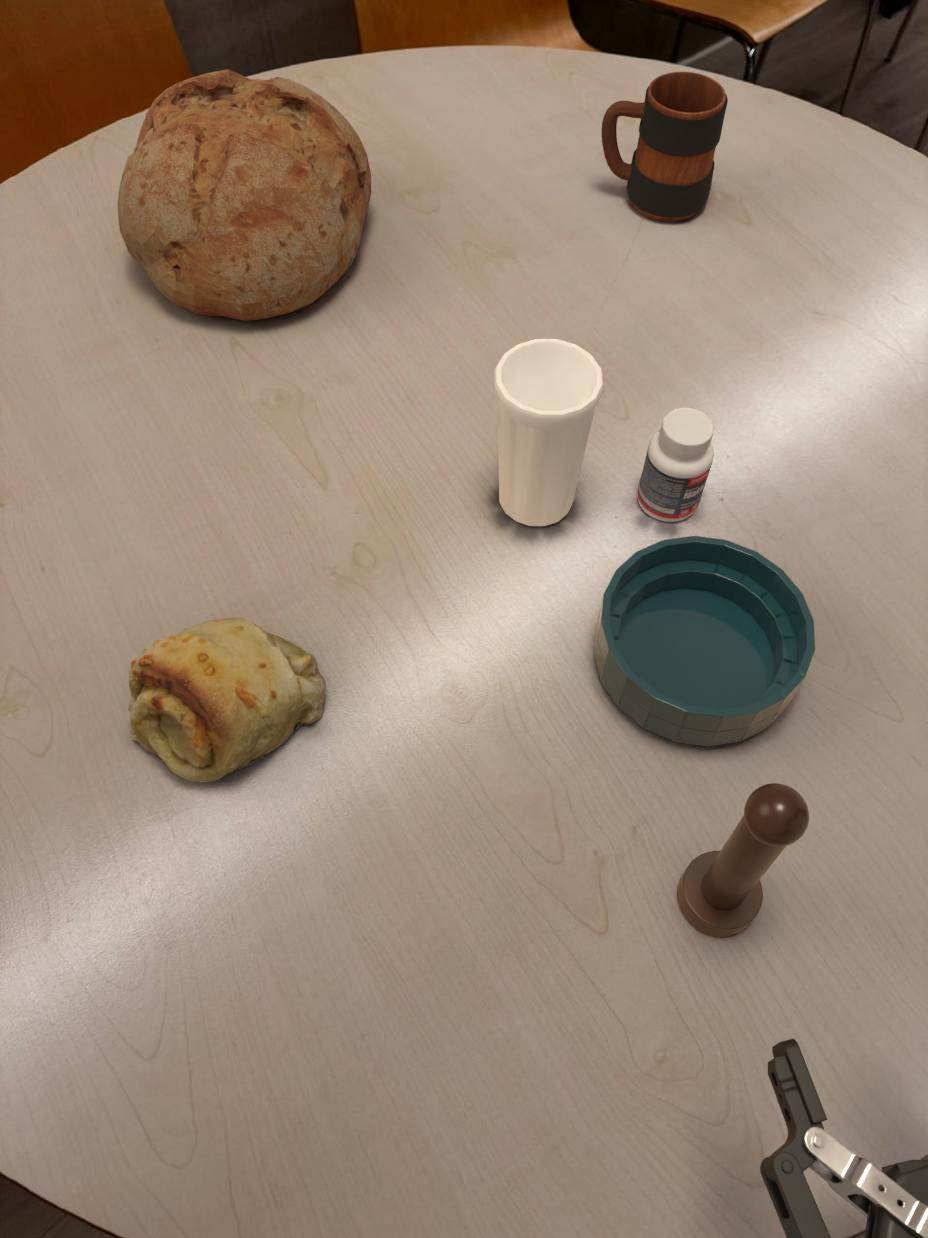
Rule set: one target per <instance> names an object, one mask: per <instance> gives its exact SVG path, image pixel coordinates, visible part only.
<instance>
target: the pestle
mask: <svg viewBox="0 0 928 1238" xmlns="http://www.w3.org/2000/svg"><path fill="white" fill-rule="evenodd" d="M809 822H810V810H809V806H808V804H807V802H806V800H805V799H804V797H803V796H802V795H801V794H800V793H799V791H798V790H796V789H794V788H793V787H792V786H789V785H787V784H783V783H777V782H774V783H767V784H763V785H761V786H759V787H757V788H756V789H754V790H753V791H752V793H750V795H749V796H748V797H747V799H746V802H745V804H744V808H743V816H742V817H741V819H740V820H739V822H738V823H737V824H736V827H735V828H734V830H733V831H732V832H731V834H730V836H729V837H728V839H727V841H726V842H725V844H724V845H723V847H722V848H721V850H712V851H707V852H704V853H702V854H701V853H700V855H698V856H696V857H695V858H694V859H692V860H691V862H690V863H689V864H688V866H687V867H686V868H685V870H684V872H683V874H682V875H681V877H680V879H679V882H678V885H677V902H678V906H679V908H680V911H681V913H682V914H683V916H684V917H685V919H686V920H687V922H688V924H690V925H691V926H692V927H694V928H695V929H696V930H698V931H699V932H700V933H703V934H705V935H708V936H711V937H714V938H715V937H716V938H729V937H733V936H735V935H738V934H740V933H741V932H743V931H744V930H745V929H746V928H747V927H748V926H749V925H750V924H751V923H752V922H753V920H754V919H755V918H756V917H757V916H758V914H759V912H760V911H761V908H762V904H763V901H764V899H763V898H764V893H763V886H762V882H761V879H762V877H764V876H765V874H766V872H767V871H768V870H769V869H770V867H771V866H772V865H774V862H775V861H776V860H777V859H778V858H779V856H780V855H781V854H782V853H783V852H784V850H785V849H786V848H787V846H790V845H792V844H794V843H796V842H797V841H799V840H800V839H801V838H802V837H803V836H804V834H805V833H806V831H807V829H808V826H809Z"/></svg>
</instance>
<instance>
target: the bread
mask: <svg viewBox="0 0 928 1238" xmlns="http://www.w3.org/2000/svg"><path fill="white" fill-rule="evenodd" d="M122 171H123V172H122V174H121V178H120V184H119V188H118V190H119V191H118V195H117V220H118V227H119V232H120V236H121V237H122V239H123V240H122V241H123V242H124V245H125V247H126V249H127V252H128V253H129V254H130V256H131V258H133V260H134V261H135V262H136V263H137V264H138V265H139V266H140V267H141V268H142V270H143V271H144V272H145V273H146V275H147V276H148V278H149V279H150V281H151V282H152V283H153V285H154V287H155V288H156V289H157V291H158V292H159V293H161V294H162V295H163V296H164V297H166V298H167V299H168V300H169V301H171V302H172V303H173V304H175V305H176V306H179V307H181V308H183V309H185V310H188V311H190V312H192V313H194V314H196V315H199V316H210V317H225V318H230V319H234V320H238V321H243V322H249V321H258V320H265V319H270V318H275V317H278V316H282V315H287V314H290V313H292V312H295V311H298V310H300V309H303V308H305V307H307V306H310V305H311V304H312V303H314V302H315V301H316V300H317V299H319V298H320V297H322V295H324V294H326V292H327V291H328V290H330V288H332V287H333V286H334V285H335V284H336V283H337V282H338V281H339V280H340V278H341V277H342V276H343V275H344V274H345V273H346V271H347V270H348V269H349V268H350V267H351V266H352V265H353V262H354V260H355V258H356V256H357V254H358V251H359V249H360V247H361V246H360V245H361V241H362V240H361V239H362V234H363V228H364V224H365V223H364V222H365V218H366V215H367V212H368V209H369V205H370V202H371V201H370V200H371V197H372V172H371V167H370V161H369V157H368V154H367V151H366V149H365V147H364V144H363V142H362V139H361V138H360V135H359V134H358V132H357V131H356V129H355V128H354V127H353V126H352V124H351V123H350V122H349V121H348V119H347V118H346V117H345V116H344V115H343V114H342V113H341V112H340V111H339V110H338V109H337V108H336V107H335V106H334V105H333V104H331V103H330V102H329V101H328V100H326V99H325V98H324V97H323V96H322V95H321V94H319V93H317V92H315V91H313V89H310V88H309V87H307V86H306V85H303V84H301V83H299V82H296V81H295V80H292V79H290V78H286V77H280V76H275V77H270V78H269V79H259V78H248V77H247V76H244V75H242V74H240V73H238V72H236V71H234V70H231V69H227V68H226V69H221V70H216V71H210V72H206V73H203V74H199V75H197V76H193V77H190V78H186V79H185V80H182V81H179V82H176V83H175V84H173V85H171V86H170V87H167V88H166V89H165V90H164V91H162V92H161V93H160V94H159V95H158V96H157V97H156V98H155V99H154V100H153V102H152V103H151V105H150V106H149V108H148V110H147V112H146V114H145V117H144V119H143V121H142V124H141V127H140V130H139V134H138V137H137V141H136V146H135V147H134V148H133V152H132V153H131V154H130V155H129V156H127V159H126V161H125V165H124V168H123V170H122Z"/></svg>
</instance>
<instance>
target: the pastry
mask: <svg viewBox="0 0 928 1238" xmlns="http://www.w3.org/2000/svg"><path fill="white" fill-rule="evenodd" d="M128 688H129V691H130V701H129V704H128V712H129V721H130V724H129V725H130V726H129V728H130V731H131V739H132V740H134V742H138V743H139V744H140V745H141V746H142V747H143V748H144V750H146V751H148V752H149V753H151V754H152V755H153V756H157V757H158V758H159V759H161V760H162V763H163V764H164V765H165V766H166V767H167V768H168V769H169V770H170V771H171V772H172V773H174V774H175V775H177V776H179V777H180V778H183V779H185V780H187V781H191V782H200V783H207V782H213V781H217V780H220V779H222V778H224V777H225V776H226V775H227V774H230V773H232V772H234V771H239V770H241V769H243V768H245V767H249V766H251V765H252V764H253V763H256V762H257V761H260V760H261V759H263V758H264V757H266V756H267V754H268V753H270V752H272V751H275V750H276V749H277V748H279V747H280V746H281V745H282V744H283V743H285V742H286V741H287V740H288V739H289V737H290V736H291V735H292V733H293V732H295V733H297V729H298V728H299V726H300V725H303V726H307V727H308V726H312V724H313V723H316V722H317V721H319V720H320V719H321V717H322V715H323V711H324V710H323V707H324V705H325V697H326V691H327V682H326V679H325V677H324V676H323V675H322V674H321V672H320V669H319V667H318V661H317V658H316V657H315V656H314V655H313V654H311V653H309V652H307V651H306V650H305V649H303V648H302V647H300V646H298V645H296V644H295V643H293V642H291V641H288V640H286V639H284V638H282V637H280V636H278V635H275V634H273V633H269V632H266V630H264V629H263V628H262V627H261V626H259V625H257V624H256V623H254V622H253V621H250V620H247V619H244V618H243V617H234V618H233V617H231V618H230V617H229V618H219V619H212V620H207V621H204V622H201V623H197V624H195V625H192V626H190V627H186V628H184V629H182V630H181V631H179V632H178V633H175V634H171V635H168V636H164V637H162V638H160V639H157V640H155V641H154V642H153V643H152V644H151V645H149V646H148V647H146V648H144V649H143V651H142V652H140V654H139V655H138V656H136V657H135V658H133V659H132V660H131V662H130V668H129V673H128Z"/></svg>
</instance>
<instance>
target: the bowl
mask: <svg viewBox="0 0 928 1238" xmlns="http://www.w3.org/2000/svg"><path fill="white" fill-rule="evenodd" d="M814 621H815V620H814V617H813V615H812V613H811V610H810V608H809V606H808V603H807V600H806V598H805V596H804V594H803V593H802V591H801V590H800V588H799V587H798V586H797V585H796V584H795V582H793V581H792V579H791V578H790V577H789V576H788V574H787V573H786V572H785V570H784V569H782V568H781V567H780V566H778V565H777V564H775V563H774V562H772V561H771V560H770V559H768V558H767V557H765V556H764V555H763V554H761V553H760V552H758V551H756V550H754V549H751V548H748V547H746V546H744V545H741V544H738V543H736V542H733V541H731V540H728V539H723V538H714V537H709V536H708V537H707V536H698V535H690V536H682V537H675V538H666V539H663V540H660V541H658V542H656V543H653V544H651V545H648V546H646V547H644V548H641V549H639V550H637V551H635V552H634V553H633V554H632V555H631V556H630V557H628V559H626V560H625V561H624V562H623V563H622V564H621V565H620V566H619V567H617V569H615V570H614V573H613V575H612V577H611V579H610V581H609V583H608V585H607V586H606V589H605V590H604V593H603V595H602V598H601V603H600V608H599V613H598V618H597V622H596V627H595V633H594V635H595V637H594V646H593V658H594V661H595V665H596V669H597V672H598V677H599V680H600V682H601V684H602V685H603V687H604V688H605V690H606V692H607V693H608V694H609V696H610V698H611V699H612V701H613V702H614V704H615V705H616V707H617V708H619V709H620V710H621V711H622V712H623V713H625V714H626V715H627V716H628V717H629V718H630V719H632V720H633V721H634V722H636V723H637V725H639V726H641V728H644V730H647V731H649V732H651V733H653V734H656V735H658V736H660V737H663V738H664V739H665V738H666V739H667V740H670V741H672V742H675V743H680V744H687V745H696V746H702V747H713V746H717V745H726V744H731V743H732V744H733V743H740V742H742V741H744V740H746V739H748V738H751V737H752V736H754V735H756V734H758V733H760V732H763V731H765V730H766V729H768V728H770V726H772V724H773V723H774V722H775V721H776V720H777V719H778V718H779V716H780V715H781V714H782V713H783V712H784V711H785V710H786V709H787V708H788V706H789V705H790V703H791V701H792V699H793V698H794V696H795V694H796V693H797V691H798V690H799V688H800V686H801V685H802V683H803V681H804V680H805V678H806V676H807V673H808V670H809V668H810V665H811V663H812V660H813V657H814V654H815V652H816V639H815V622H814Z"/></svg>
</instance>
